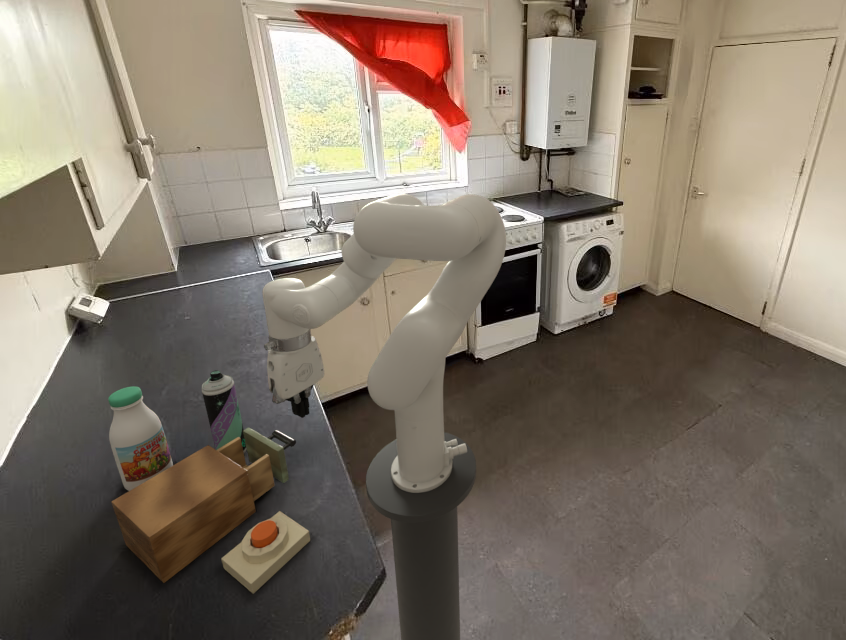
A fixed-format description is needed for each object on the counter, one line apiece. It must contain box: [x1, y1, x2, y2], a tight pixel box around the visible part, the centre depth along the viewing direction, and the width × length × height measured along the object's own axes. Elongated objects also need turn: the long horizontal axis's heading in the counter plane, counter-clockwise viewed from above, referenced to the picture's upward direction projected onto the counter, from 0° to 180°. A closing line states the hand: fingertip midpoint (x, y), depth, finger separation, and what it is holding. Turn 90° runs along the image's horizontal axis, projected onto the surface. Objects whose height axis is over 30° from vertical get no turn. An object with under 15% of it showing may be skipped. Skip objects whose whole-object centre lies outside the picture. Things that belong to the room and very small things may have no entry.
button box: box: [221, 510, 311, 595], centre depth 70 cm, size 10×8×4 cm
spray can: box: [201, 369, 247, 454], centre depth 89 cm, size 6×6×20 cm
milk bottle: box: [107, 385, 174, 492], centre depth 82 cm, size 8×8×20 cm
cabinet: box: [111, 444, 257, 584], centre depth 73 cm, size 15×13×10 cm
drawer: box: [217, 427, 297, 502], centre depth 81 cm, size 18×11×8 cm, turn 151°
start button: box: [251, 519, 278, 548], centre depth 69 cm, size 4×4×2 cm
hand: (301, 413), depth 91 cm, fingers closed
